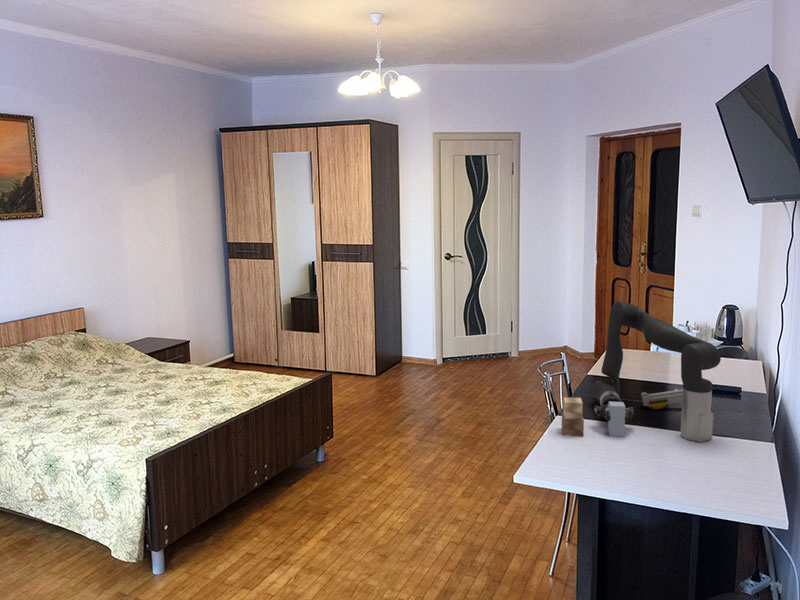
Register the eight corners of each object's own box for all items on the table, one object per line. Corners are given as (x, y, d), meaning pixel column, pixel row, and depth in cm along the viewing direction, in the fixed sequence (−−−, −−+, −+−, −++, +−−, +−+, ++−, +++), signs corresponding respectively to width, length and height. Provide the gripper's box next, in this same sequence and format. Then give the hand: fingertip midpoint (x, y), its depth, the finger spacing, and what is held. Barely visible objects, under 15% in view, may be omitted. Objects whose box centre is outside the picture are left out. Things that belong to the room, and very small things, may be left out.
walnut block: (581, 429, 239) (581, 413, 238) (583, 436, 232) (583, 420, 231) (561, 428, 240) (561, 412, 239) (562, 435, 233) (563, 419, 232)
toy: (715, 412, 253) (710, 385, 252) (647, 421, 258) (642, 395, 257) (711, 407, 258) (706, 381, 257) (644, 416, 264) (640, 391, 263)
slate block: (622, 431, 236) (623, 402, 234) (624, 436, 231) (625, 406, 229) (607, 430, 237) (608, 401, 235) (609, 435, 232) (610, 405, 230)
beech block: (580, 413, 238) (580, 397, 237) (582, 419, 232) (582, 403, 231) (563, 413, 239) (563, 397, 238) (564, 418, 233) (565, 402, 232)
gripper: (591, 393, 247) (596, 407, 231) (631, 394, 245) (639, 409, 228) (591, 412, 249) (596, 428, 232) (630, 413, 246) (638, 429, 229)
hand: (617, 418), depth 230 cm, fingers closed on slate block, 5 cm apart
